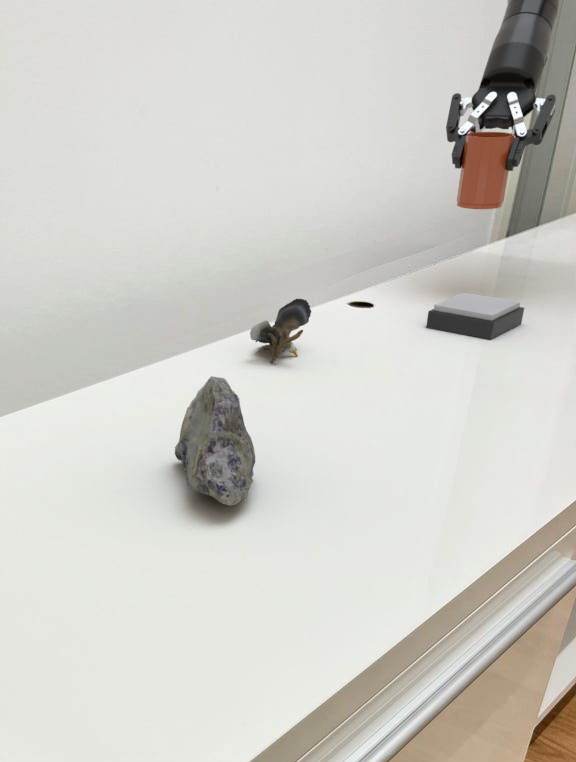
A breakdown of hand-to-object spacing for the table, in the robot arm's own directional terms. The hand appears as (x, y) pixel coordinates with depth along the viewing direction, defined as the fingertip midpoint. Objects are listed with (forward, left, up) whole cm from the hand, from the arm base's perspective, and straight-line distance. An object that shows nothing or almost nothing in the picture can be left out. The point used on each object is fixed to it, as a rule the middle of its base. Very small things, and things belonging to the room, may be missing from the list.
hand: (483, 165), depth 140 cm
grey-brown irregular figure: (+6, +38, -18) cm, 42 cm away
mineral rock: (-12, +76, -18) cm, 79 cm away
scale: (-7, +11, -18) cm, 23 cm away
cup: (0, -2, -5) cm, 6 cm away
